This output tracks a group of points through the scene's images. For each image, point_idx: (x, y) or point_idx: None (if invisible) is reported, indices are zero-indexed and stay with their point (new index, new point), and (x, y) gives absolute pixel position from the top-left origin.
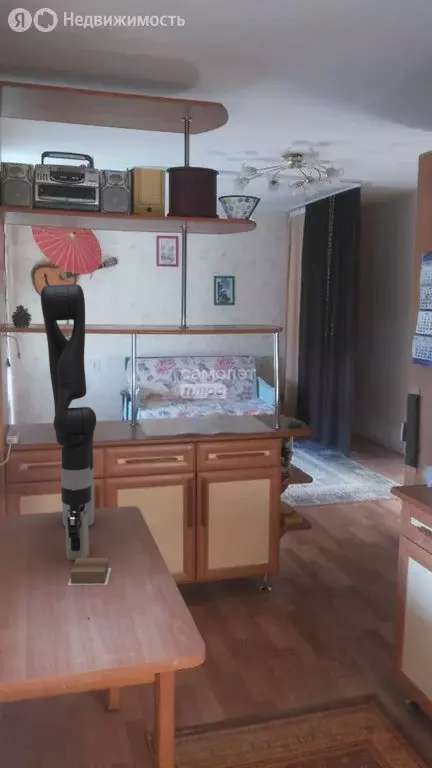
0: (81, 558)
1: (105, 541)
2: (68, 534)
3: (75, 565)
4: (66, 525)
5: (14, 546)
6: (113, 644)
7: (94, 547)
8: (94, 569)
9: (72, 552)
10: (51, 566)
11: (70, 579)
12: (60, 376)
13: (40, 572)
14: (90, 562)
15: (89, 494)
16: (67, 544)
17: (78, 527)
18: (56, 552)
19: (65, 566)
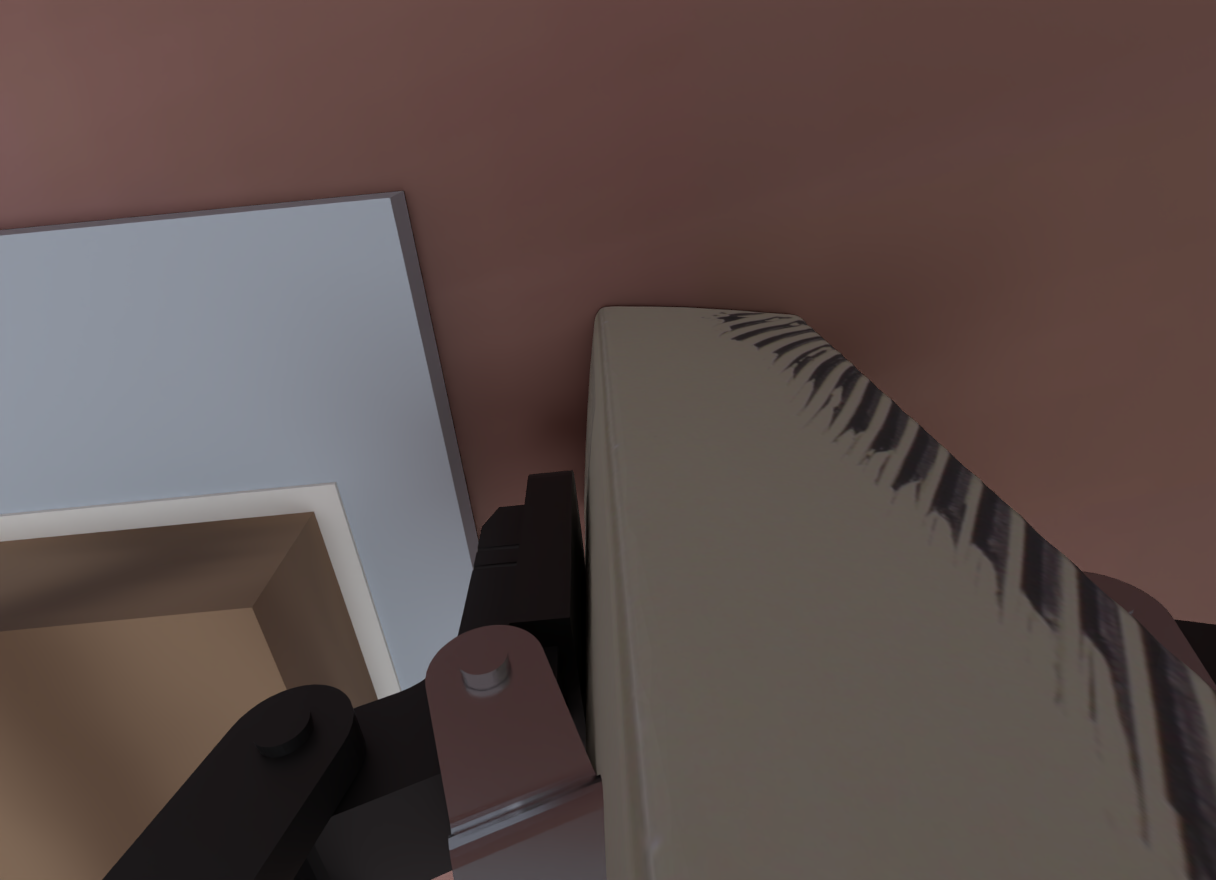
0: (260, 667)
1: (1186, 566)
2: (266, 747)
3: (12, 655)
4: (621, 750)
5: None
6: None
7: (1041, 499)
8: (14, 841)
9: (588, 445)
10: (464, 121)
11: (33, 518)
12: None
13: (228, 5)
14: (178, 775)
15: None
16: (601, 429)
17: None
18: (967, 45)
19: (494, 316)
